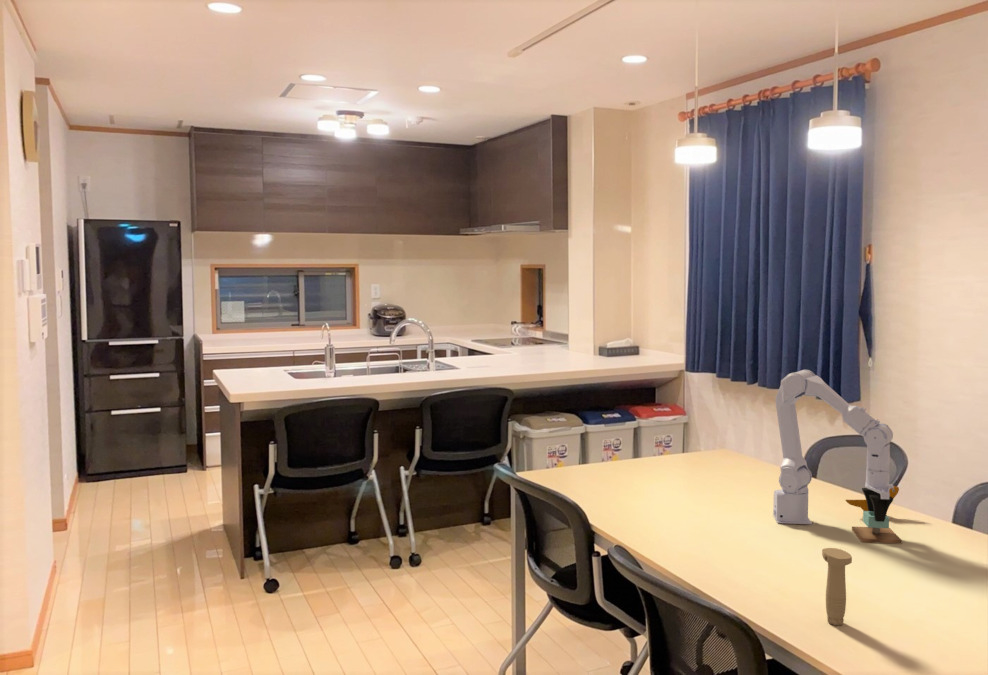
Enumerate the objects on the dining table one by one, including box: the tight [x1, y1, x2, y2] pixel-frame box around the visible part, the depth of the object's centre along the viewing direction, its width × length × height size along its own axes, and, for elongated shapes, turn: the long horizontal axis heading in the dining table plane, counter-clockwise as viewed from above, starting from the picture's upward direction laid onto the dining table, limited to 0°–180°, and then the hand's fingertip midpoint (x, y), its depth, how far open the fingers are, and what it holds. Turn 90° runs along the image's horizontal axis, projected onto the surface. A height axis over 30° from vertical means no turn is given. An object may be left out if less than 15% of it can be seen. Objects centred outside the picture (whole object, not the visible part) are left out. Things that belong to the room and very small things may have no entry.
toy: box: [845, 485, 900, 511], centre depth 238 cm, size 3×16×10 cm, turn 89°
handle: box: [821, 547, 853, 626], centre depth 167 cm, size 5×6×15 cm
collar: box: [862, 510, 890, 528], centre depth 220 cm, size 5×5×3 cm
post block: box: [851, 526, 903, 544], centre depth 220 cm, size 10×10×5 cm
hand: (876, 517), depth 220 cm, fingers closed on collar, 5 cm apart
